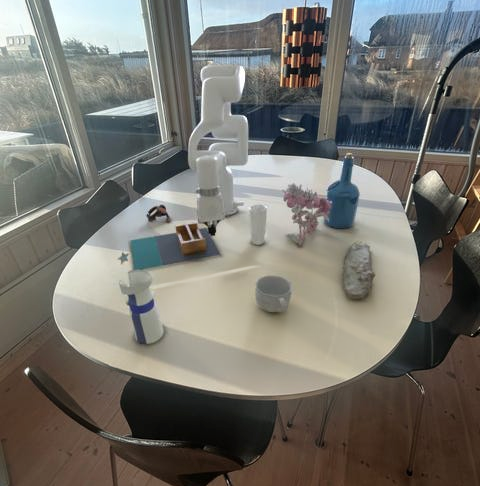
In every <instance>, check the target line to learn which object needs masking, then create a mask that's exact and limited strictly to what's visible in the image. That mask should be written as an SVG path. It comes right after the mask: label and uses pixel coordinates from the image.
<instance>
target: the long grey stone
mask: <svg viewBox="0 0 480 486" xmlns="http://www.w3.org/2000/svg"><path fill="white" fill-rule="evenodd" d="M370 248H371V246H370V245H368V244H367V243H366V242H363V241H357V242H356V241H355V242H353V243H352V244H351V245H350V246H349V248H348V250H347V253H346V255H345V256H344V257H345V262H344V266H343V268H342V269H343V270H342V281H343V283H342V285H343V289H344V293H345V294H346V296H347V297H348V298H350V299H353V300H362V299H364V298H365V297H366V296H369V295H370V292H371V290H372V289H373V281H374V278H375V277H376V273H375V272H374V271H372V268H371V267H372V260H373V259H372V251H371V249H370Z"/></svg>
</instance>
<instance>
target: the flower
mask: <svg viewBox="0 0 480 486" xmlns="http://www.w3.org/2000/svg"><path fill="white" fill-rule="evenodd" d="M302 186H303V184H299V186H298V185H297V184H296V183H295V182H293V183H291V184H287V188H286V190H285V189H282V190H281V192H283V193H284V195H283V198H282V199H283V202H284V203H286V207H287V208H290V209H291V210H290V212H291V213H292V217H291V219H292V224H297V225H298V229H299V231H298V232H299V233H296V232H289V233H287V236H289V237H290V239H291V240H292V241H293V242H296V243H297V244H299V247H301V245H302V243H303V242H304V239H305V238H306V236H307V235H308V233H309V232H312V231H313V230H315V229H316V228H317V227H318V226H319V224H320V222H319V220H318V218H321V217H323V219H324V218H325V219H326V220H328V222H329V218H328V217H327V216H328V215H329V213H330V211H329V209H331V207H332V206H331V204H332V201H328V200H327V198H328V197H327V196H326V197H324V196H320V197H318V196H317V195H318V192H317V191H314V193H313V188H311V189H309V188H306V190H304V189H303V188H302ZM326 200H327V201H326ZM305 208H306V209H307V210H304V209H305ZM328 208H329V209H328ZM313 209H314V210H315V212H314V213H313V212H312V211H309V210H313ZM302 217H304V219H305V220H303V218H302ZM302 228H303V229H302Z"/></svg>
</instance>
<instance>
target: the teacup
mask: <svg viewBox="0 0 480 486" xmlns="http://www.w3.org/2000/svg"><path fill="white" fill-rule="evenodd" d="M254 286H255V291H254V293H255V294H254V297H255V298H254V299H255V302H256V304H257V306H258V307H259V308H260V309H261V310H264V311H265V312H268V313H285V312H286V311H287V307H288V306H289V305H290V302H291V299H292V297H291V296H292V291H293V284H292V282H291V281H290V280H289V279H287V278H286V277H283V276H280V275H265V276H262V277H260V278H258V279H257V280H256V281H255V285H254Z"/></svg>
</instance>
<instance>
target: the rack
mask: <svg viewBox="0 0 480 486" xmlns="http://www.w3.org/2000/svg"><path fill="white" fill-rule="evenodd" d="M174 227H175V233H176V234H177V239H178V241H179V244H180V247H181V250H182V253H183V255H184V256H186V255H191V254H197V253H202V252H207V250H206V240H205V238H203V237H202V235H201V233H200V231H199V229H200V228H199V227H198V221H194V222H193V221H192V222H187V223H181V224H175V225H174Z"/></svg>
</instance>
